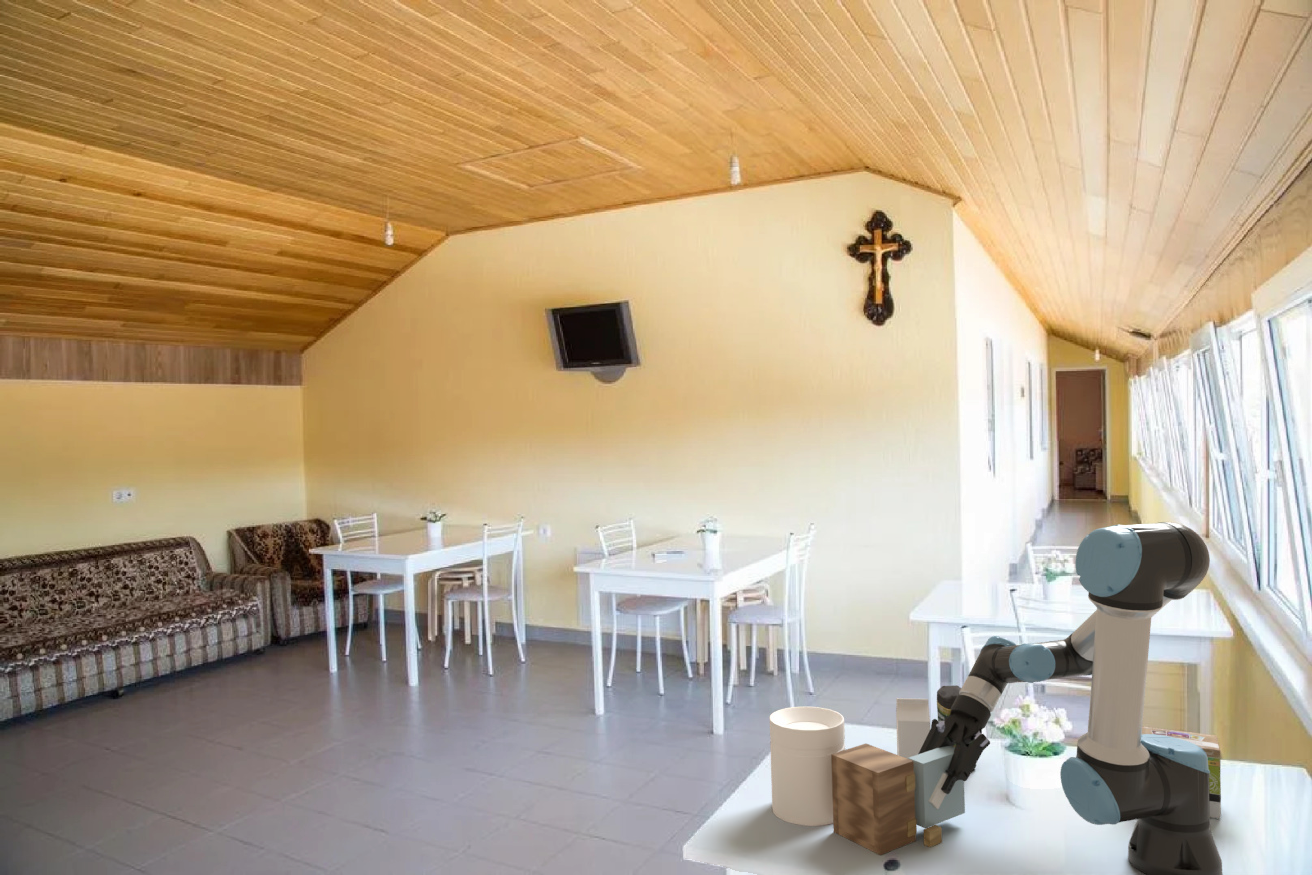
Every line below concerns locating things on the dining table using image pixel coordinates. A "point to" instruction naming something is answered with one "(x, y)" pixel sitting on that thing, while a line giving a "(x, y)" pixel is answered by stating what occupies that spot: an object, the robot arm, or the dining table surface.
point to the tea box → (1213, 753)
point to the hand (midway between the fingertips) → (924, 800)
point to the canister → (804, 763)
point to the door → (926, 780)
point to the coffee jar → (947, 702)
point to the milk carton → (911, 725)
